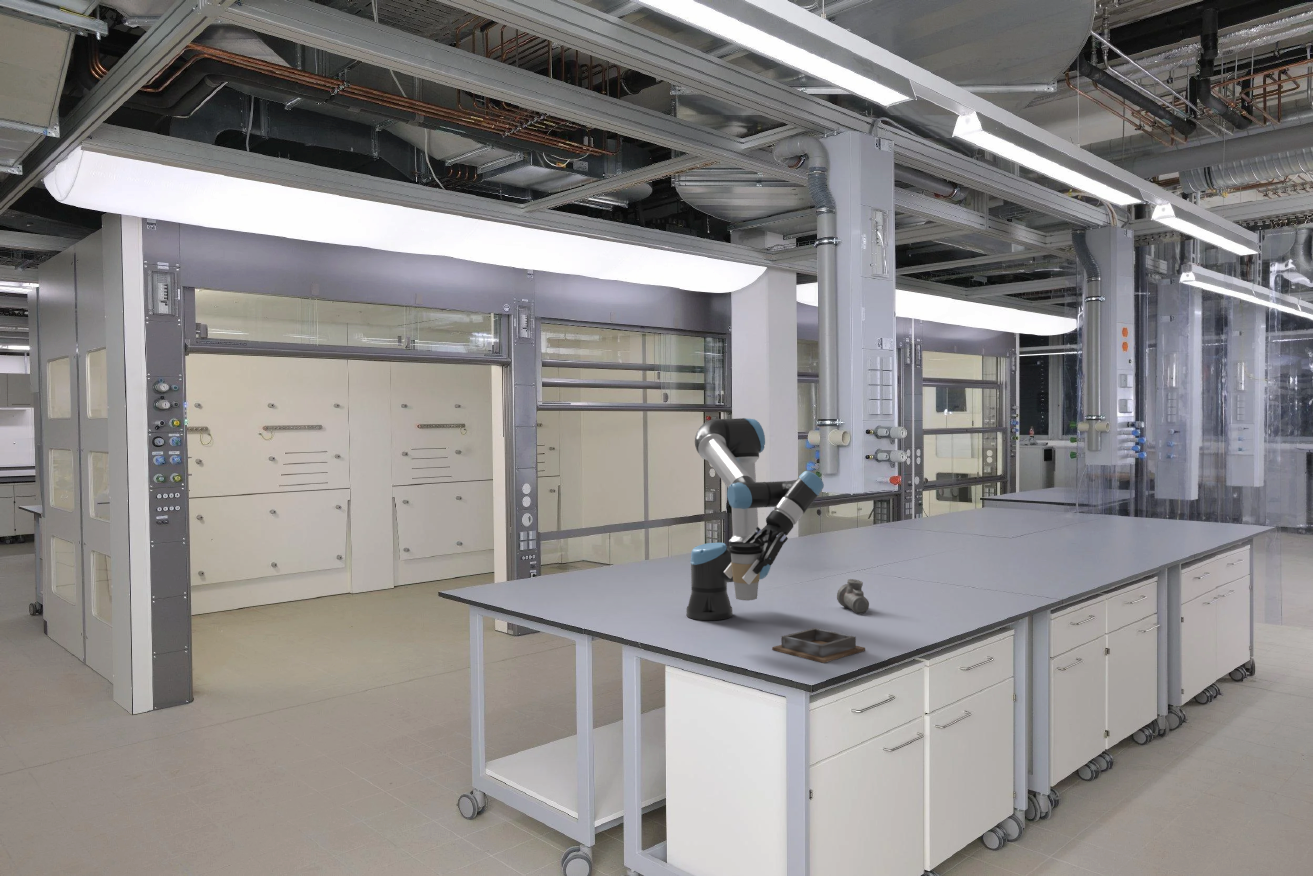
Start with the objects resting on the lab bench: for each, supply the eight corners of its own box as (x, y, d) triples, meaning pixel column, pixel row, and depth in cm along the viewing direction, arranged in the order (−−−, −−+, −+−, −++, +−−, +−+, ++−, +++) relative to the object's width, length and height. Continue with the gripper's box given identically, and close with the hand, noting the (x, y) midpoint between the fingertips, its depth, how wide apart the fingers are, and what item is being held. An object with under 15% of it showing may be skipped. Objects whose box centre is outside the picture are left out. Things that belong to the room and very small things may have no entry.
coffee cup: (758, 602, 239) (758, 548, 238) (725, 600, 242) (724, 546, 242) (766, 595, 248) (766, 542, 247) (734, 593, 251) (733, 541, 251)
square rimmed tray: (772, 650, 245) (772, 636, 245) (814, 638, 256) (813, 625, 256) (823, 663, 231) (823, 648, 231) (865, 650, 243) (865, 636, 242)
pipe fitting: (834, 605, 299) (838, 576, 297) (857, 606, 300) (860, 577, 299) (847, 617, 287) (851, 587, 286) (871, 618, 288) (874, 588, 287)
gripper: (814, 530, 241) (766, 594, 235) (770, 522, 261) (724, 580, 255) (798, 512, 239) (748, 576, 232) (755, 505, 259) (708, 563, 252)
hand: (736, 578), depth 243 cm, fingers closed on coffee cup, 9 cm apart
